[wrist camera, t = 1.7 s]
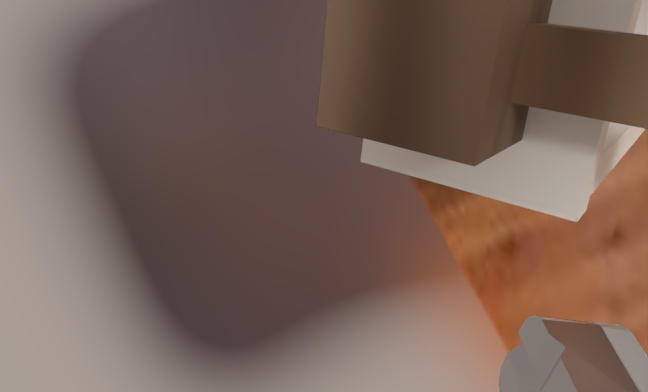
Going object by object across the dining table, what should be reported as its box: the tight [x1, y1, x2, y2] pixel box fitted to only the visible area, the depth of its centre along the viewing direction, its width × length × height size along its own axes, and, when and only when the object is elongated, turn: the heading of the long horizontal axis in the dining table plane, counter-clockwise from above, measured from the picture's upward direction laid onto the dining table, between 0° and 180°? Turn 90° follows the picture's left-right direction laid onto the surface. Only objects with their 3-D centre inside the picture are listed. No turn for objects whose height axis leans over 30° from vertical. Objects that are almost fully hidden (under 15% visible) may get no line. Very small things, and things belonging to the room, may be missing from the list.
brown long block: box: [316, 0, 648, 166], centre depth 21 cm, size 19×7×6 cm, turn 82°
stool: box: [361, 0, 648, 222], centre depth 36 cm, size 11×13×26 cm
